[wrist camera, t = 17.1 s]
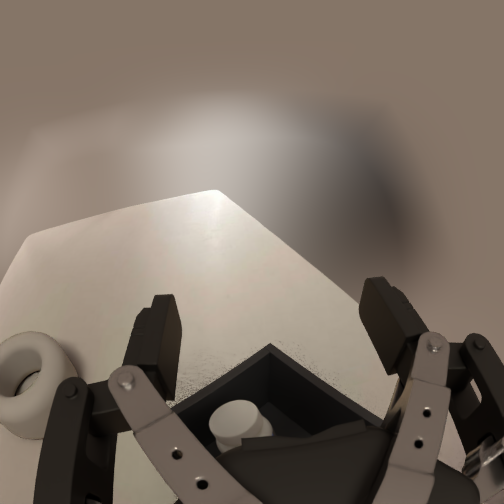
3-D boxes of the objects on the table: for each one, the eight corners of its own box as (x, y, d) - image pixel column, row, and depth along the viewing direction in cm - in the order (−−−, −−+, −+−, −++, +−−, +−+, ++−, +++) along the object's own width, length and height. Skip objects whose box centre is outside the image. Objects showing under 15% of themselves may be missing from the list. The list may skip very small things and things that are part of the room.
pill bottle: (290, 484, 18) (261, 437, 16) (239, 489, 19) (198, 443, 17) (289, 445, 23) (263, 391, 21) (243, 451, 24) (209, 400, 22)
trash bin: (269, 396, 30) (270, 342, 25) (361, 465, 21) (397, 428, 16) (171, 463, 22) (138, 425, 17) (262, 555, 14) (262, 562, 9)
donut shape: (-11, 406, 23) (-37, 378, 19) (41, 345, 35) (22, 314, 32) (44, 464, 19) (10, 438, 15) (102, 381, 31) (81, 348, 28)
